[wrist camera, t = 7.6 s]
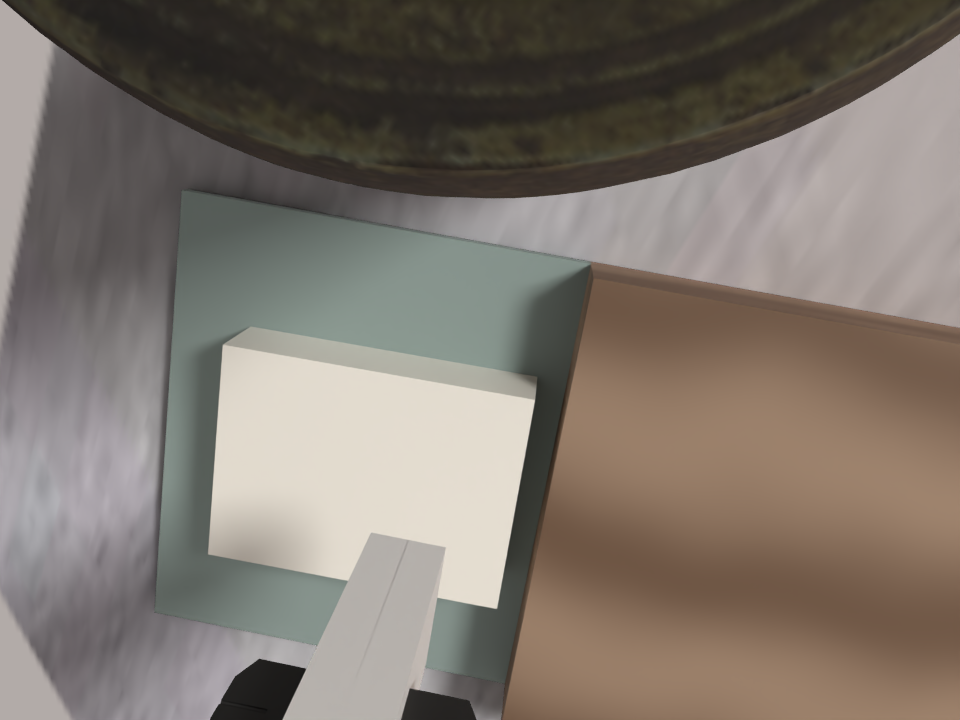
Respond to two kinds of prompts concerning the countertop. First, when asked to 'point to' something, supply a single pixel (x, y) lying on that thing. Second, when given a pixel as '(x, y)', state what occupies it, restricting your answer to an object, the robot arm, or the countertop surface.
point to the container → (494, 80)
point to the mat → (365, 322)
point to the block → (366, 458)
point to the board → (745, 514)
